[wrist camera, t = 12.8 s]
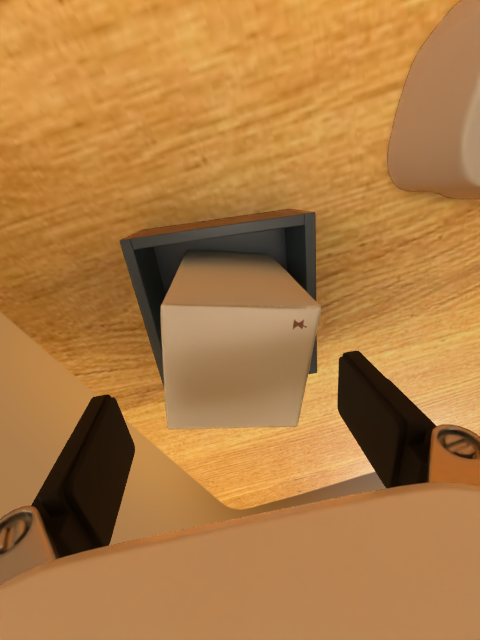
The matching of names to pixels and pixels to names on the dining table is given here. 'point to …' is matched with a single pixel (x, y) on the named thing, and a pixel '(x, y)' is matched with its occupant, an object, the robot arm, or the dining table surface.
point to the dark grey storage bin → (225, 236)
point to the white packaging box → (235, 342)
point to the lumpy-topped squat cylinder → (441, 111)
